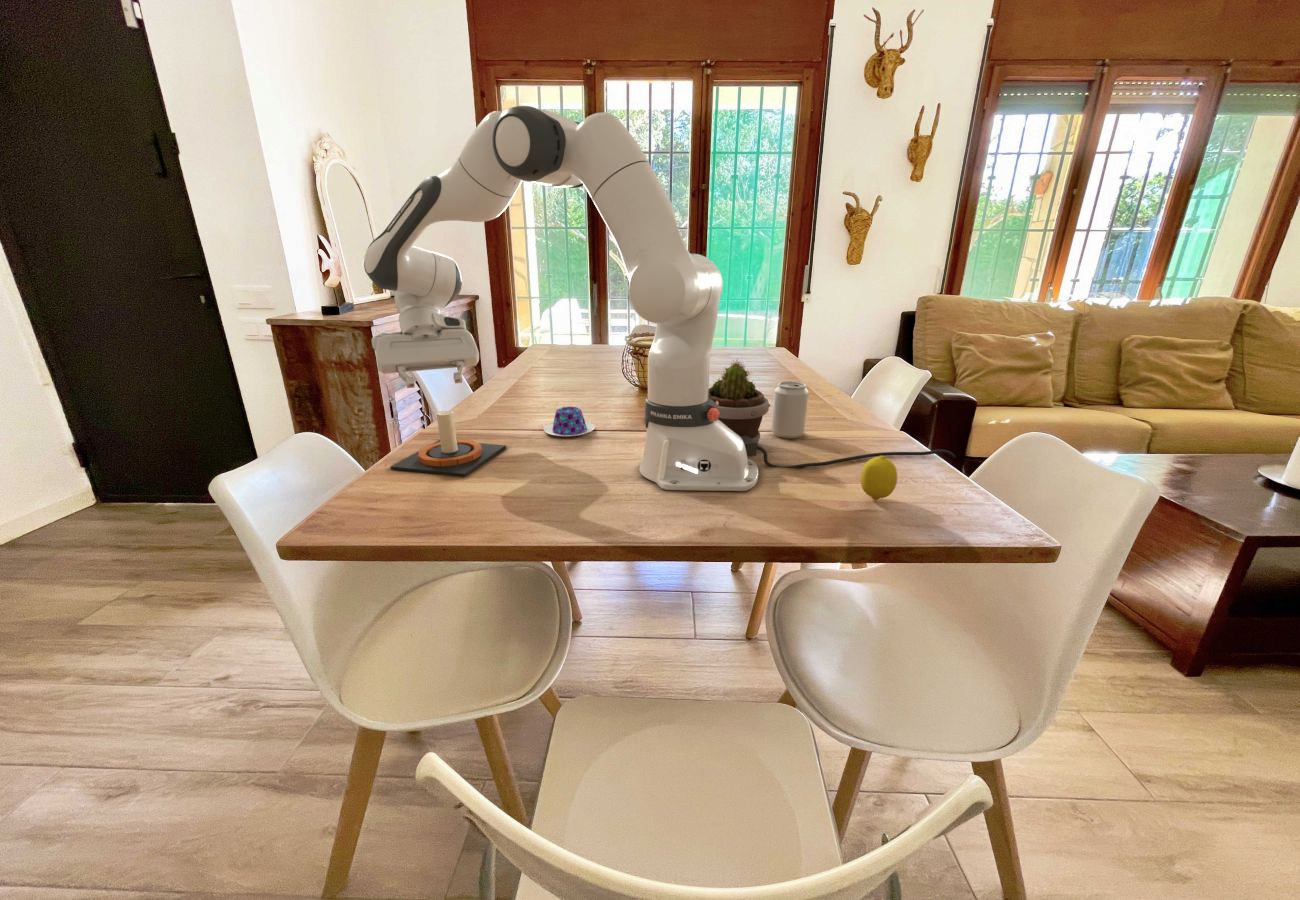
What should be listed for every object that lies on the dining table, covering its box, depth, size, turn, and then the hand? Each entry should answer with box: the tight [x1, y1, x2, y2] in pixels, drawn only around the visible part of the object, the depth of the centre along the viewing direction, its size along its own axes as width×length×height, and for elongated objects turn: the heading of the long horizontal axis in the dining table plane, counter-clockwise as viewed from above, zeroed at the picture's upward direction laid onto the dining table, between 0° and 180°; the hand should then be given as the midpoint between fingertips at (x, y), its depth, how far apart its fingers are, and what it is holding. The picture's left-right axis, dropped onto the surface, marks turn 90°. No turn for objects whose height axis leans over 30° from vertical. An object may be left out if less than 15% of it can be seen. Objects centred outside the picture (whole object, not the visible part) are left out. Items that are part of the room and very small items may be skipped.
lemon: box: [860, 456, 898, 501], centre depth 86 cm, size 6×6×8 cm
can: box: [770, 380, 810, 439], centre depth 117 cm, size 8×8×12 cm
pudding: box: [543, 406, 596, 437], centre depth 121 cm, size 12×12×5 cm
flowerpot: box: [708, 357, 771, 444], centre depth 109 cm, size 14×15×20 cm
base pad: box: [390, 439, 507, 478], centre depth 105 cm, size 16×16×2 cm
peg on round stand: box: [429, 410, 471, 459], centre depth 104 cm, size 8×8×9 cm
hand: (435, 384), depth 108 cm, fingers open, 8 cm apart
